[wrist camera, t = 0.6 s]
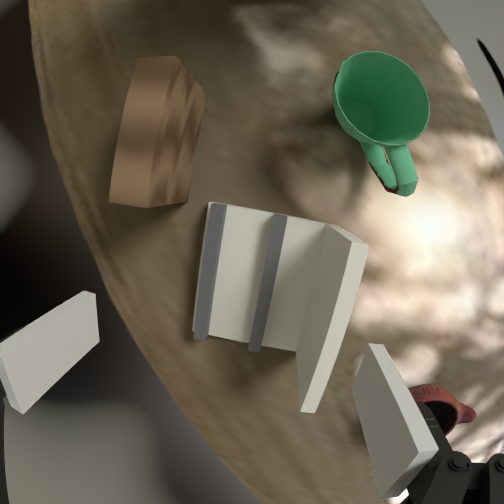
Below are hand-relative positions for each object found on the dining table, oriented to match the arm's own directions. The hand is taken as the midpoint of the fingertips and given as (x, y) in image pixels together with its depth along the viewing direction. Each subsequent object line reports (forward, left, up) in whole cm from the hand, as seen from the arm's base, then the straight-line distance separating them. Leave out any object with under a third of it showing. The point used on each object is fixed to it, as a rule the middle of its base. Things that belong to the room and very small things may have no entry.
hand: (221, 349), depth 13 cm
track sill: (+4, +1, -24) cm, 24 cm away
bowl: (+20, +31, -24) cm, 44 cm away
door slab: (-11, -12, -24) cm, 29 cm away
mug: (-16, +10, -24) cm, 31 cm away
